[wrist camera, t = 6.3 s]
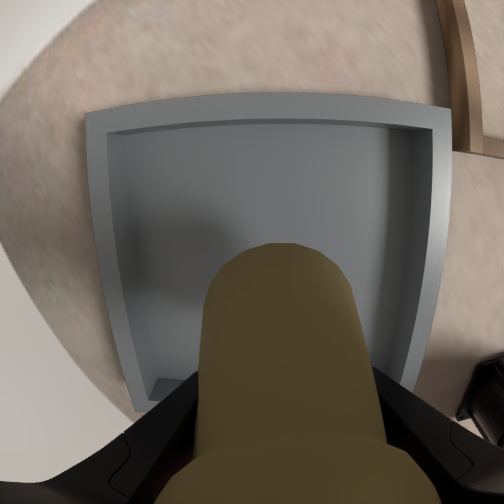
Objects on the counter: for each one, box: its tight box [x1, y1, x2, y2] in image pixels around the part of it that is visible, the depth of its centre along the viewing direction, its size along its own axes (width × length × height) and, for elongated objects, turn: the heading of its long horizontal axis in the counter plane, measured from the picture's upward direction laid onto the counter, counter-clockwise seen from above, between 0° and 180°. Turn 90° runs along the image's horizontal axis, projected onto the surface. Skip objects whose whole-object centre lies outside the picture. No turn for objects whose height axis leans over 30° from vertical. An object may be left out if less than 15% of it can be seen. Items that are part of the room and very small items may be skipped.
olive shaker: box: [154, 243, 442, 504], centre depth 7 cm, size 6×6×11 cm
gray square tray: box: [85, 93, 452, 413], centre depth 17 cm, size 18×18×3 cm
